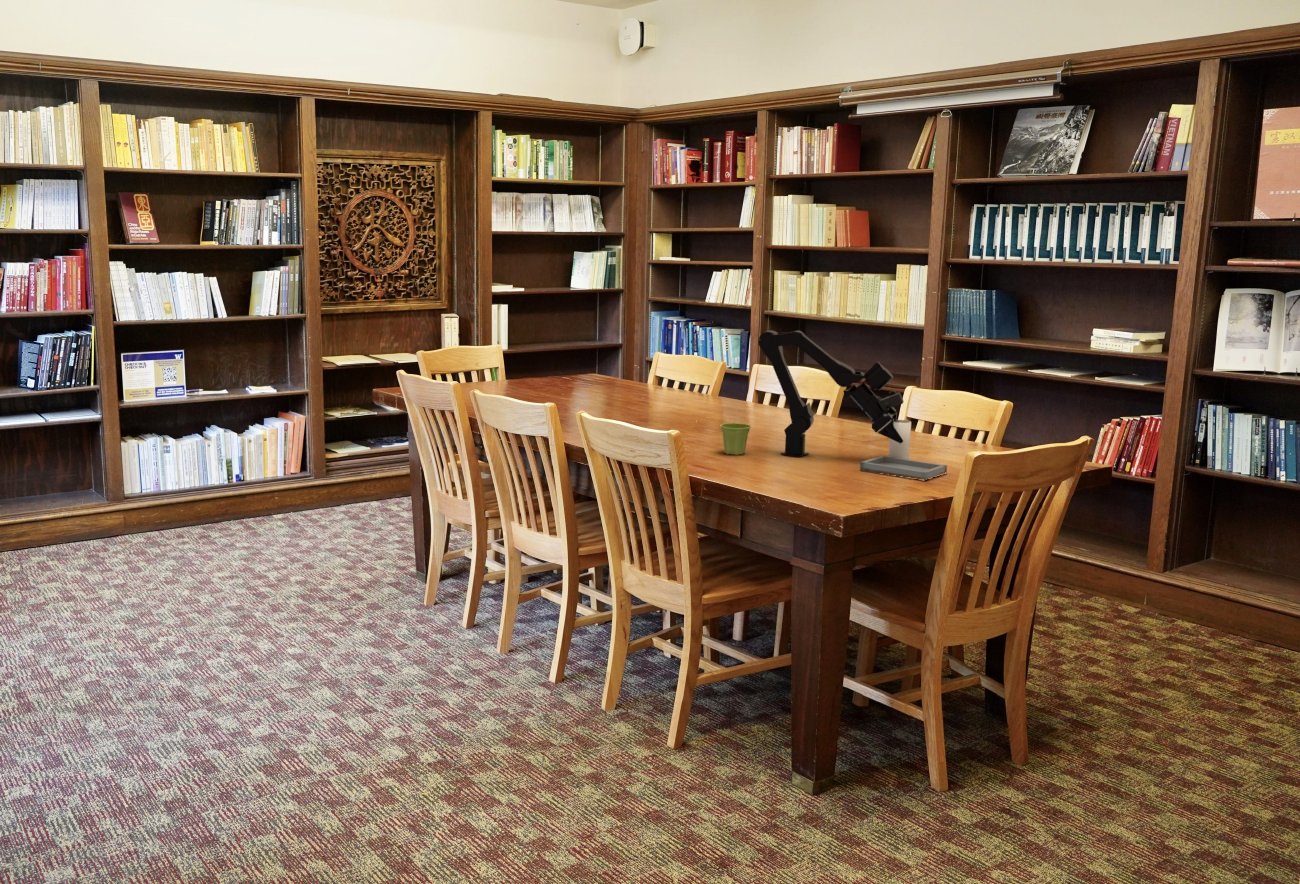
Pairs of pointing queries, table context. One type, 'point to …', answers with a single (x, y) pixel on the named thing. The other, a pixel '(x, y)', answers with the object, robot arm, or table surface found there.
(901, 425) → the pencil cup
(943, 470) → the tray
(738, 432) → the plant pot
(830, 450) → the table surface
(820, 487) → the table surface
